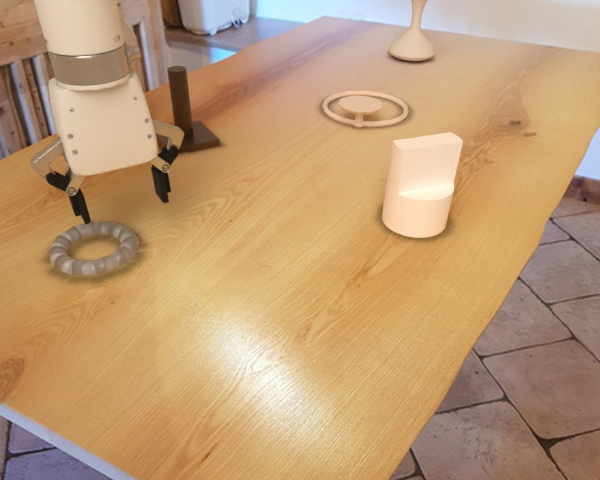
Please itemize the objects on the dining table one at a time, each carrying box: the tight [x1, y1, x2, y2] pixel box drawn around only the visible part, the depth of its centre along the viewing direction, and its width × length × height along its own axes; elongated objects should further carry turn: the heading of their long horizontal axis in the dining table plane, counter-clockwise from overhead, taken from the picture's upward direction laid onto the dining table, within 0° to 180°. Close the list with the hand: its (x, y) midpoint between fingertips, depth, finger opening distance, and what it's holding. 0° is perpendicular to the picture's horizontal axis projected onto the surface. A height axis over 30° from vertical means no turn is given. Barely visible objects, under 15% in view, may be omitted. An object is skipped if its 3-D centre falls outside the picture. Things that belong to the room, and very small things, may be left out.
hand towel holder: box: [321, 89, 409, 128], centre depth 105 cm, size 17×4×21 cm
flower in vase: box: [387, 0, 436, 62], centre depth 125 cm, size 13×11×25 cm
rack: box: [156, 65, 221, 155], centre depth 91 cm, size 9×9×12 cm
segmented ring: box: [47, 220, 141, 276], centre depth 69 cm, size 11×11×2 cm
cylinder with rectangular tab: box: [381, 131, 464, 239], centre depth 73 cm, size 9×9×12 cm
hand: (125, 208), depth 68 cm, fingers open, 9 cm apart
